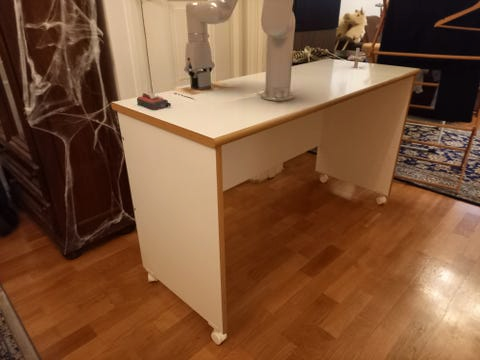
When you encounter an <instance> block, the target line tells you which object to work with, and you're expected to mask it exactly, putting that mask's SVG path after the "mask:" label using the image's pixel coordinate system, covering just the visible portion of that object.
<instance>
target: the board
mask: <svg viewBox="0 0 480 360" xmlns="http://www.w3.org/2000/svg"><path fill="white" fill-rule="evenodd" d="M231 87H234V85H232V84H229V83H228V84H227V83H224V82H218V81H211V89H208V90H204V91H200V90H196V89H192V88H191V86H187V87H182V88H176V89H174V92H173V95H177V94H178V96H180V95H181V97H184V98H186V99H190V100H194V99H195V98H193V97H190V96H193V95H198V94H203V93H208V92H212V91H217V90H222V89H227V88H231ZM177 92H180V93H183V94H187V95H190V96H187V95H183V94H180V93H177Z"/></svg>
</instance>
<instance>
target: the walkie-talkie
mask: <svg viewBox="0 0 480 360" xmlns="http://www.w3.org/2000/svg"><path fill="white" fill-rule="evenodd" d="M136 100H137V101H136V103H137V105H138V106H140V107H142V108H146V109H148V110H151V111H158V110H163V109H168V108H169V107H171V106H172V104H171V103H170V102H169V101H168V99H164V97H162V96H159V95H156V94H155V93H152V92H150V91H149V92H143V93H142V96H138V97H137V98H136Z"/></svg>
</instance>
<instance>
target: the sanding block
mask: <svg viewBox="0 0 480 360" xmlns="http://www.w3.org/2000/svg"><path fill="white" fill-rule="evenodd" d="M211 72H212V71H211ZM211 72H206V71H203V70H202V69H200V70H197V77H196V78H198V88H194V87H192V79H191V77H190V76H189V81H190V87H191V88H192V89H196V90H200V91H204V90H208V89H211V82H212V79H211V78H212V77H211V75H212V74H211Z"/></svg>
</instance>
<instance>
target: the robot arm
mask: <svg viewBox="0 0 480 360" xmlns="http://www.w3.org/2000/svg"><path fill="white" fill-rule="evenodd" d="M238 1H239V0H214V1H213V0H212V1H205V2H202V1H190V2H187V3H186V4H185V16H186V29H187V41H188V42H186V45H185V66H184V68H183V71H184V72H185V73H187V75H188V76H189V78H190V77H191V79H192V87H194V88H198V78H196V77H197V70H202V71H206V72H212V71H213V70H214V68H215V62H213V59H212V57H213V56H212V49H211V44H210V41H209V38H210V34H209V32H208V25H219V24H223V23H226V22H227V21H228V20H229V19H230V18H231V16H232V15H233V13H234V10H235V8H236V6H237V4H238ZM293 5H294V0H263V5H262V9H261V15H260V16H261V18H260V23H261V25H260V26H261V29H262V31H263V32H264V33H265V35H266V37H267V38H266V47H265V48H266V49H265V50H266V53H265V54H266V55H265V91H262V92H261V94H260V97H261V99H264V100H267V101H273V102H280V101H289V100H293V99H294V98H295V93H294V92H292V91H291V85H292V69H293V68H292V67H293V52H294V37H295V31H296V30H295V29H296V17H295V13H294V11H293Z"/></svg>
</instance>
